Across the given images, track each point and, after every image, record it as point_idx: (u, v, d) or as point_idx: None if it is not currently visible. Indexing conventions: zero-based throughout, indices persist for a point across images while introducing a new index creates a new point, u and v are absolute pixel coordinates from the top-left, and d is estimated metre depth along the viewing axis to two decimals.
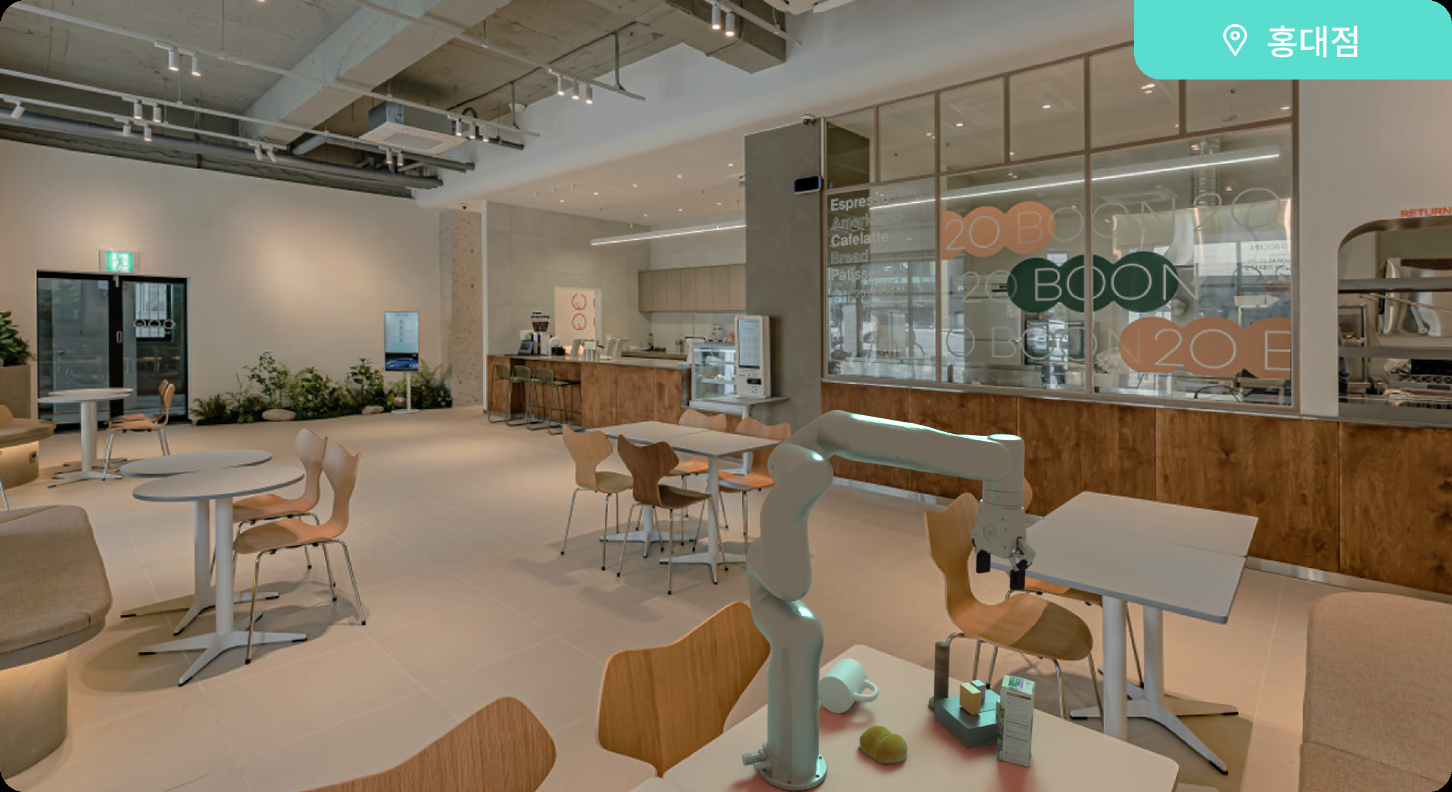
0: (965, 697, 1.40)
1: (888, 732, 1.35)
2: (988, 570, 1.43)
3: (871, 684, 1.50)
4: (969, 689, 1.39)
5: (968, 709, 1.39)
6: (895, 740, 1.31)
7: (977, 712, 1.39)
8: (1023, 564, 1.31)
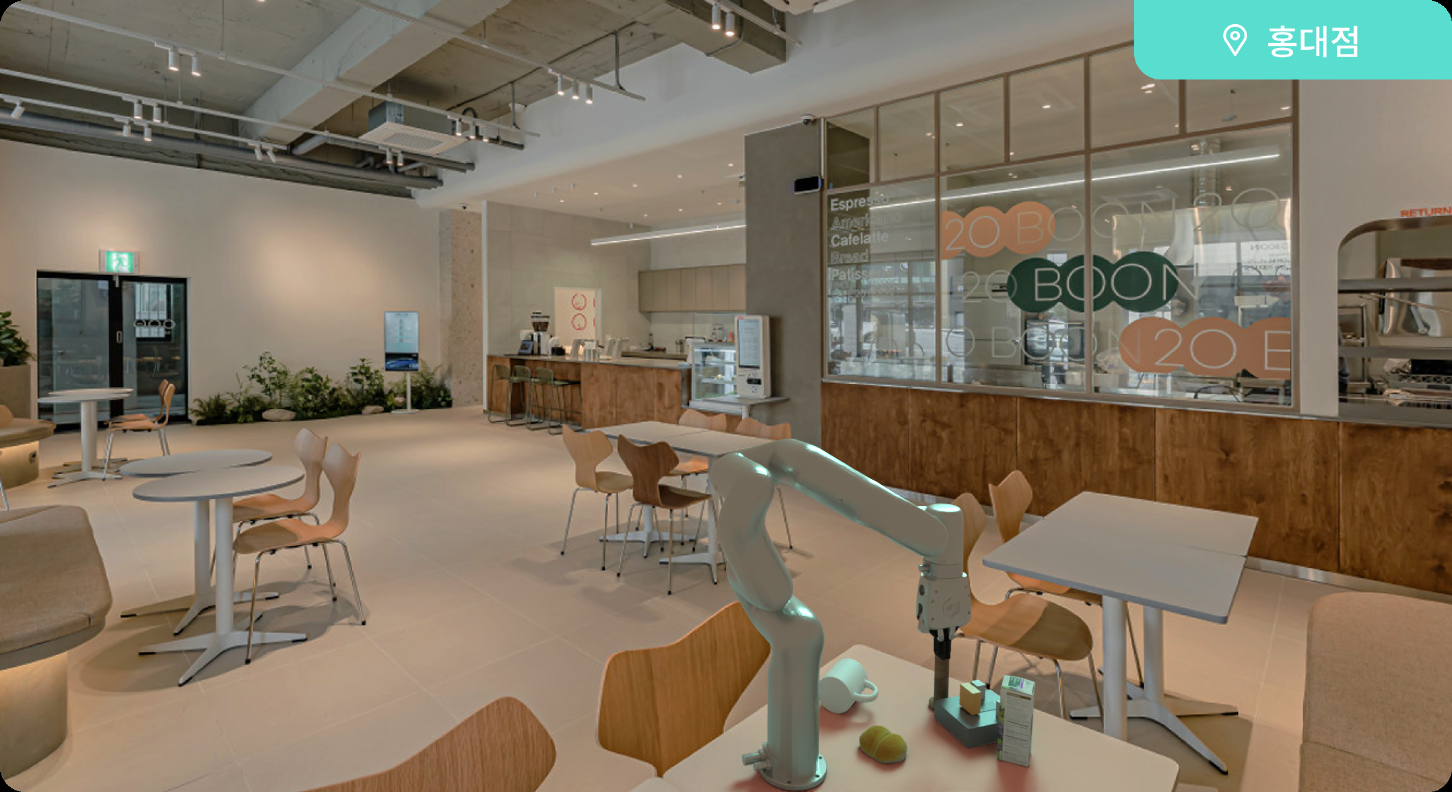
0: (965, 697, 1.40)
1: (888, 732, 1.35)
2: None
3: (871, 684, 1.50)
4: (969, 689, 1.39)
5: (968, 709, 1.39)
6: (894, 740, 1.31)
7: (977, 712, 1.39)
8: (957, 628, 1.37)
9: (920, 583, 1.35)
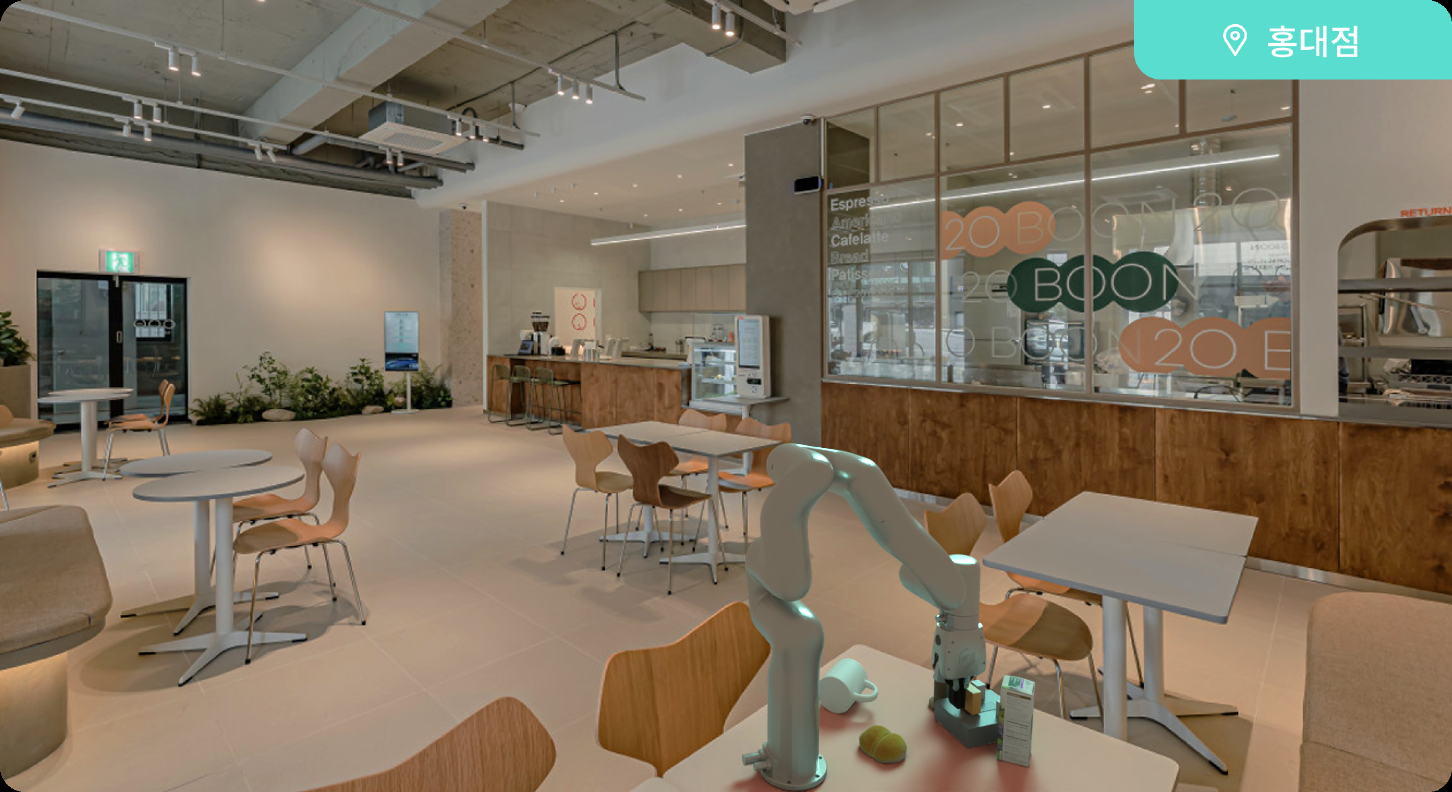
0: None
1: (887, 732, 1.35)
2: None
3: (871, 684, 1.50)
4: (969, 689, 1.39)
5: (968, 709, 1.39)
6: (894, 740, 1.31)
7: (977, 712, 1.39)
8: (972, 677, 1.39)
9: (936, 633, 1.37)
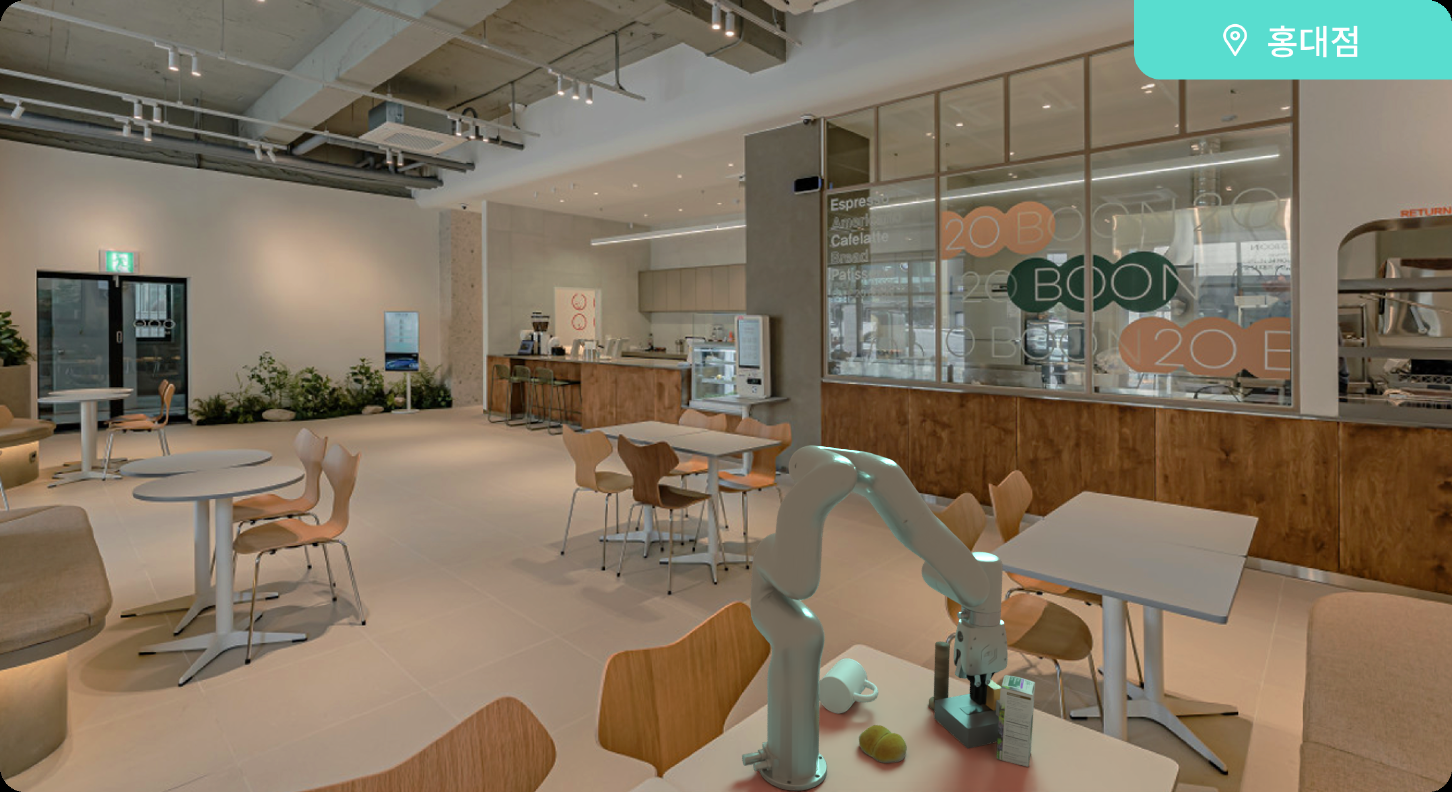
0: None
1: (887, 731, 1.35)
2: None
3: (871, 684, 1.50)
4: (990, 685, 1.41)
5: (989, 705, 1.41)
6: (894, 740, 1.31)
7: None
8: (993, 674, 1.40)
9: (958, 629, 1.39)
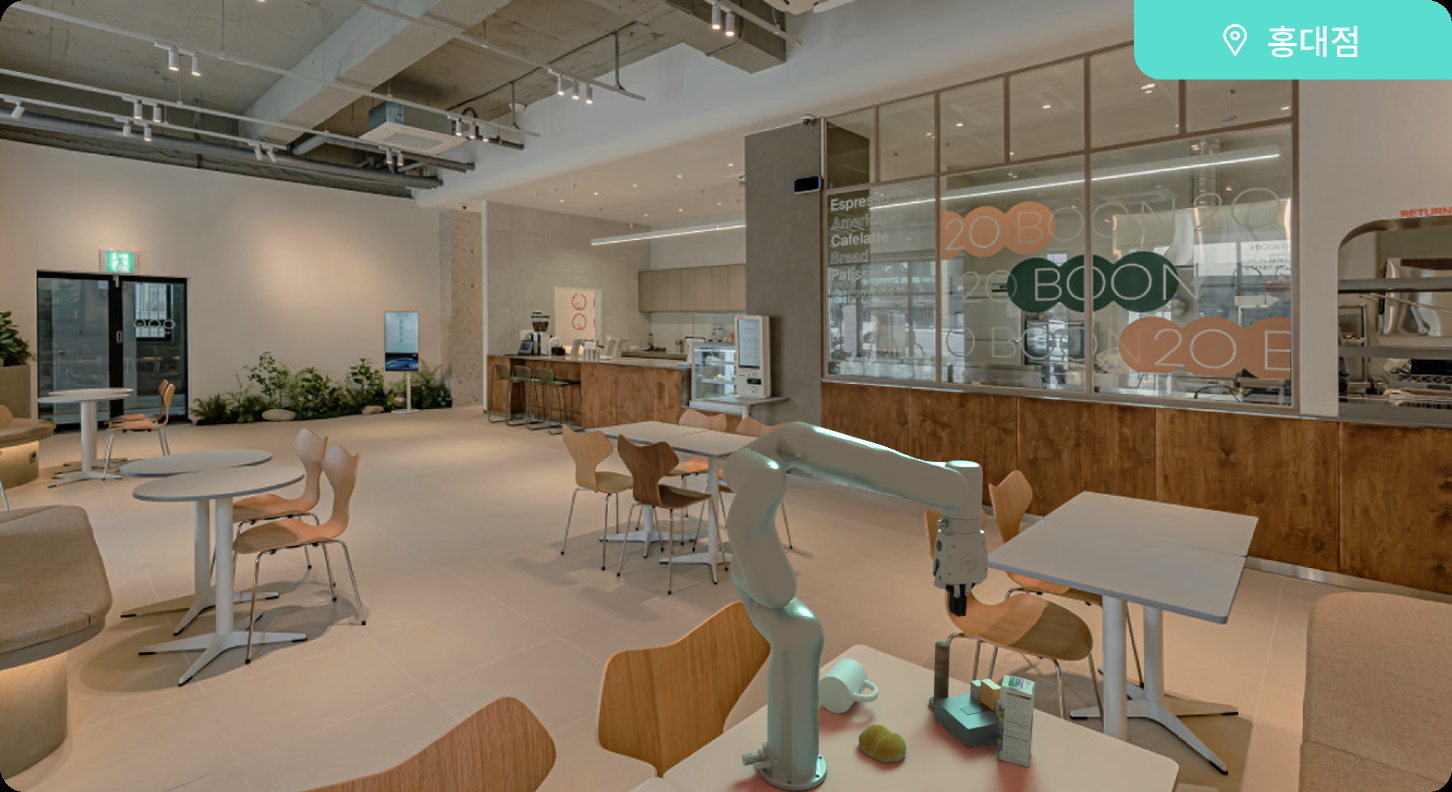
0: (985, 693, 1.42)
1: (887, 731, 1.35)
2: None
3: (871, 684, 1.50)
4: (990, 685, 1.41)
5: (989, 705, 1.41)
6: (894, 739, 1.31)
7: None
8: (973, 585, 1.37)
9: (937, 539, 1.35)
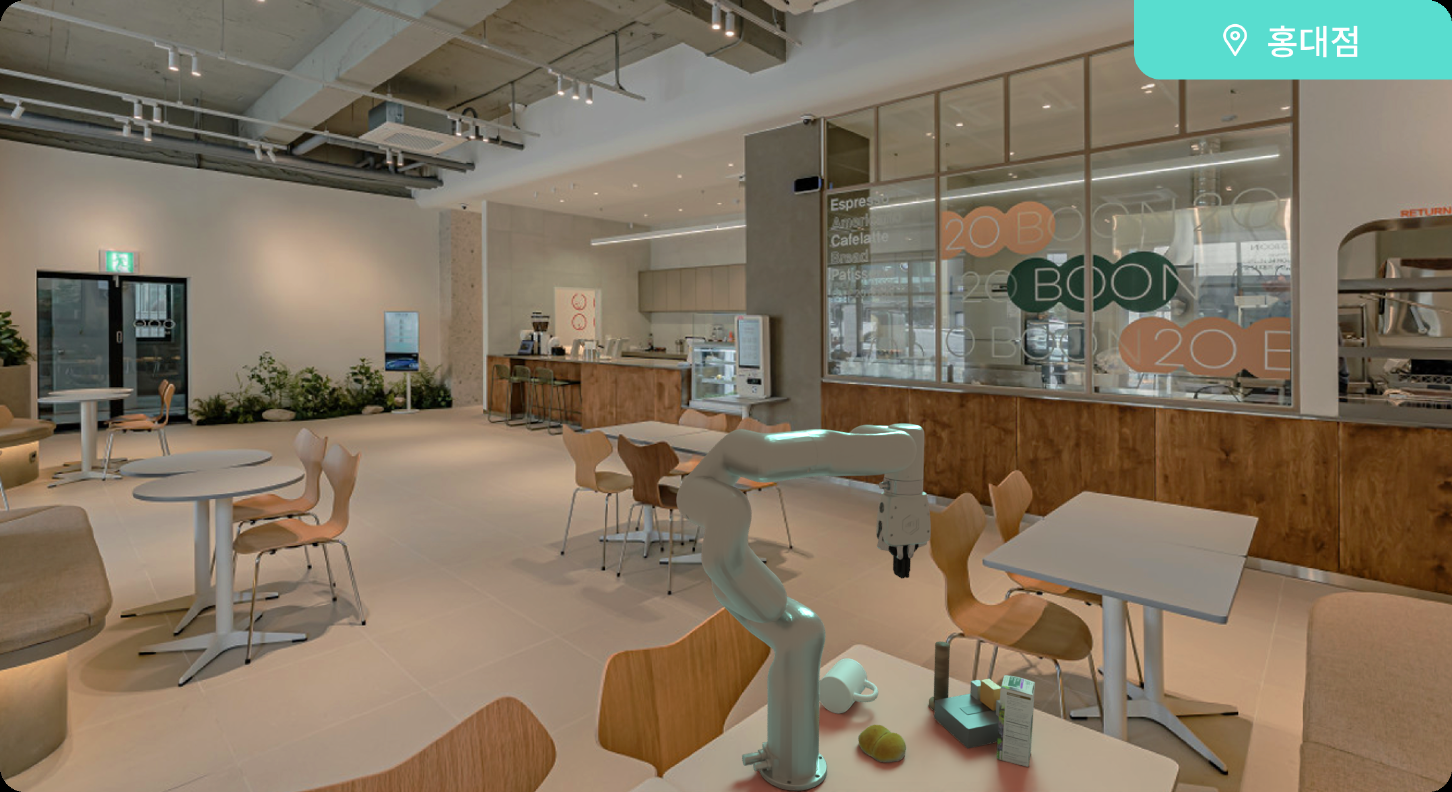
0: (985, 693, 1.42)
1: (887, 731, 1.35)
2: None
3: (871, 684, 1.50)
4: (990, 685, 1.41)
5: (989, 705, 1.41)
6: (893, 739, 1.31)
7: None
8: (916, 547, 1.38)
9: (880, 501, 1.36)
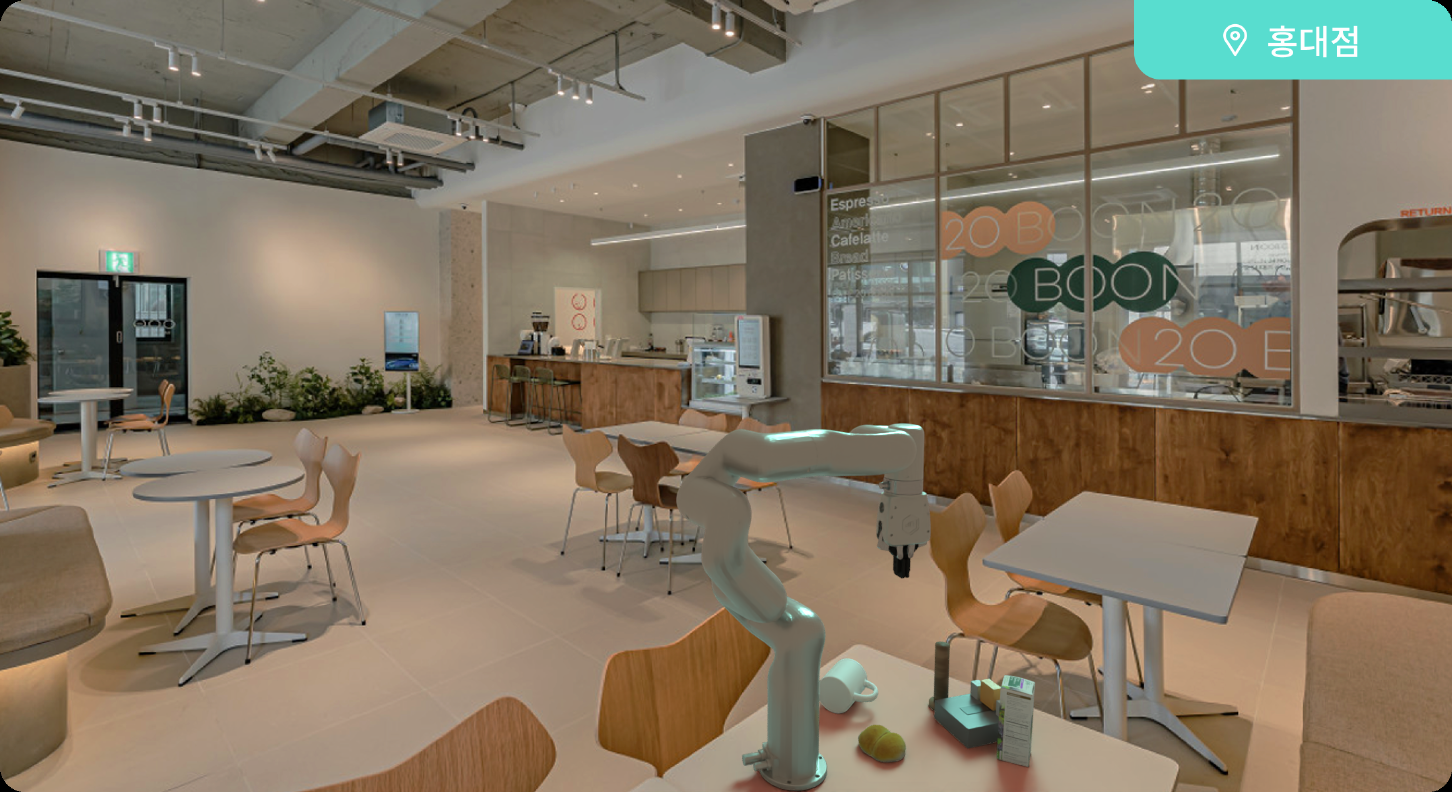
0: (985, 693, 1.42)
1: (887, 731, 1.35)
2: None
3: (871, 684, 1.50)
4: (990, 685, 1.41)
5: (989, 705, 1.41)
6: (893, 739, 1.32)
7: None
8: (916, 547, 1.38)
9: (880, 501, 1.36)
